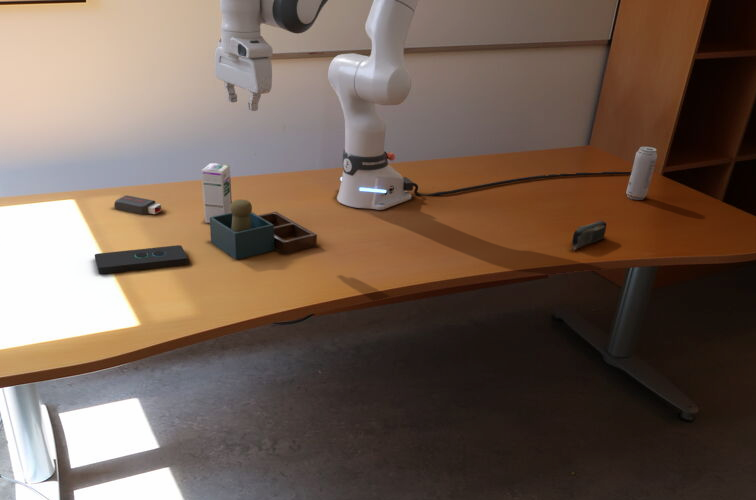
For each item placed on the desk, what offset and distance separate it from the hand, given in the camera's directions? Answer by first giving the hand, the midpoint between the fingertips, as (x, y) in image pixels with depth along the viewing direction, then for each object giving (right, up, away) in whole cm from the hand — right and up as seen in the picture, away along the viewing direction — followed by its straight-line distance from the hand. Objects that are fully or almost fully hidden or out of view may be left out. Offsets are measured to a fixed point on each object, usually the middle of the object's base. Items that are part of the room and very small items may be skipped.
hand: (242, 105), depth 176 cm
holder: (+8, -29, +13) cm, 33 cm away
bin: (-1, -32, +7) cm, 33 cm away
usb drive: (-32, -20, +25) cm, 45 cm away
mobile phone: (+88, -30, +19) cm, 95 cm away
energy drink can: (+114, -10, +54) cm, 126 cm away
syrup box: (-9, -23, +21) cm, 33 cm away
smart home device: (-23, -38, -4) cm, 44 cm away
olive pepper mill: (-1, -32, +7) cm, 33 cm away
